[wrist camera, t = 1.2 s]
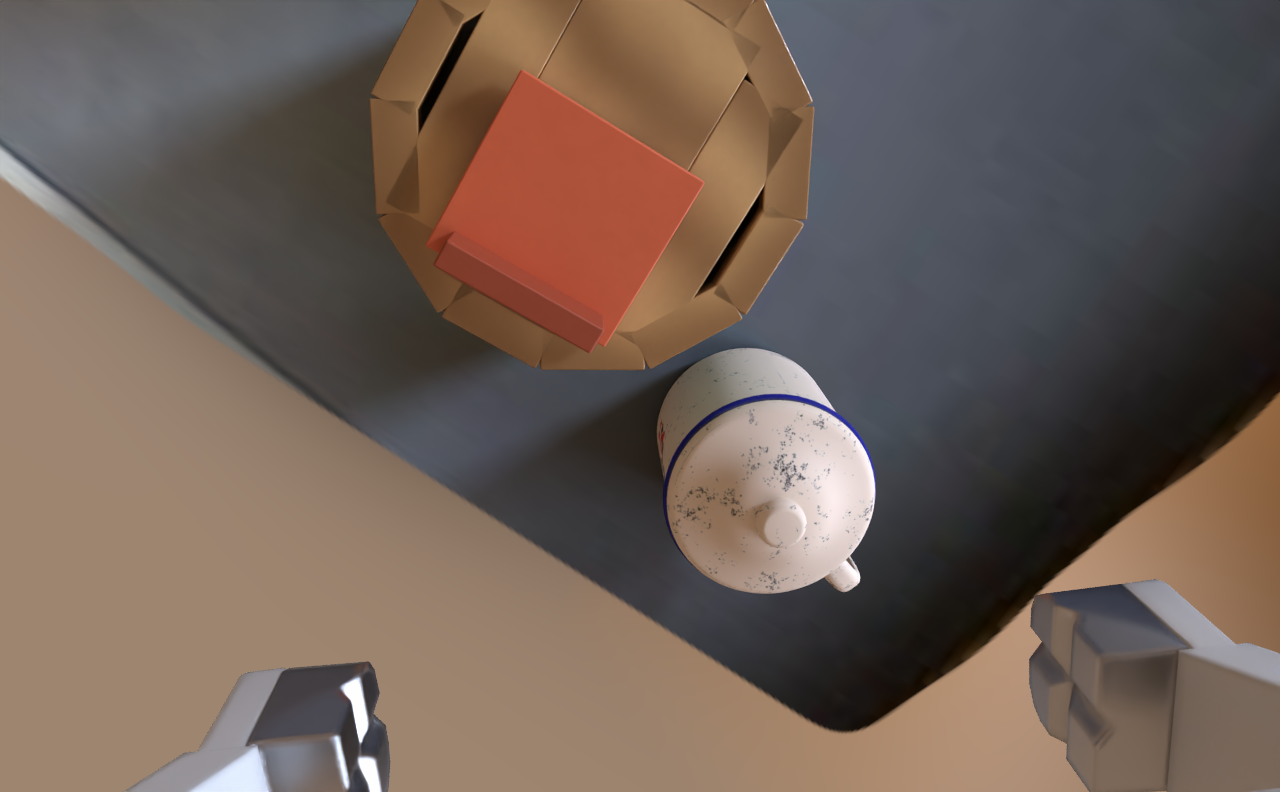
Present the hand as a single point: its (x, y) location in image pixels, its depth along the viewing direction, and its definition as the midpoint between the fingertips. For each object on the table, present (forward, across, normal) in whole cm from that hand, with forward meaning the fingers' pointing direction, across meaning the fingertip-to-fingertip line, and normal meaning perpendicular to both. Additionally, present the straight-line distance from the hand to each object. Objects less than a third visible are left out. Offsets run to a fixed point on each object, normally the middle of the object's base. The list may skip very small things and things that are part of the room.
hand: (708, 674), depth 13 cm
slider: (+26, +2, -2) cm, 26 cm away
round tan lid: (+27, +1, -4) cm, 27 cm away
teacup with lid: (+38, -6, +12) cm, 40 cm away
